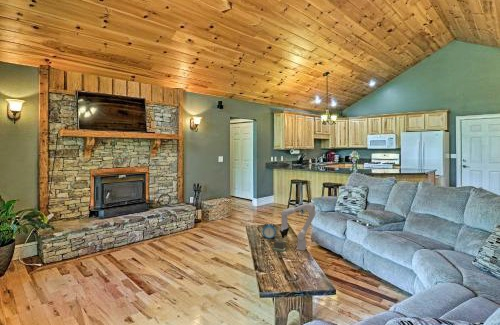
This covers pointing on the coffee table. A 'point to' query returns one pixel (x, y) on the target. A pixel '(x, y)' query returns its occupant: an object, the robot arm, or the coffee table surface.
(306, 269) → the coffee table surface
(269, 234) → the alarm clock
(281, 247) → the block
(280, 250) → the green and cream box
